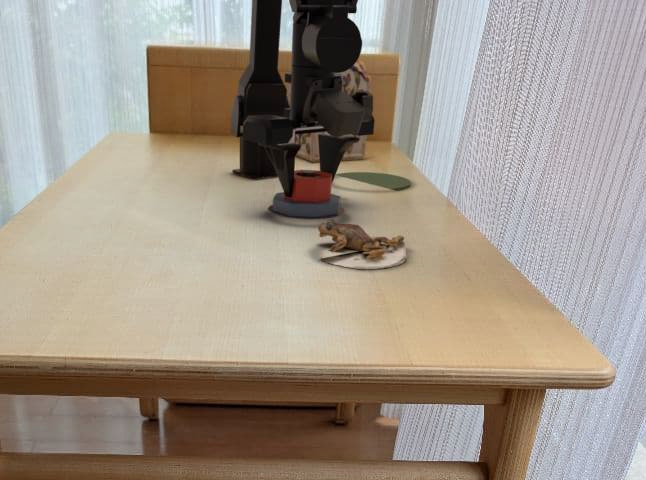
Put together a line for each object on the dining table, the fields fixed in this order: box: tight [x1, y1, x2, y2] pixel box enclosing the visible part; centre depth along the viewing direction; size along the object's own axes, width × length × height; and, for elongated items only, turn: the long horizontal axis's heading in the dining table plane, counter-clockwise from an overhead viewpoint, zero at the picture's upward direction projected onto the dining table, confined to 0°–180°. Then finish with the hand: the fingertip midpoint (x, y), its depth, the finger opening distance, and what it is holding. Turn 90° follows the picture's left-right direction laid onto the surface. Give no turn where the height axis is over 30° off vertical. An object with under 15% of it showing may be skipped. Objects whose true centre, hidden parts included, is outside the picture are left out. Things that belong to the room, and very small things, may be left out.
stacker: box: [267, 169, 346, 220], centre depth 114 cm, size 11×11×6 cm
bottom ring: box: [272, 191, 342, 218], centre depth 115 cm, size 9×9×2 cm
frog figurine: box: [317, 218, 408, 270], centre depth 99 cm, size 12×12×4 cm
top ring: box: [284, 169, 333, 203], centre depth 114 cm, size 6×6×3 cm
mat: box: [335, 171, 411, 192], centre depth 136 cm, size 14×14×1 cm
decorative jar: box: [287, 59, 372, 163], centre depth 151 cm, size 12×12×18 cm
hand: (307, 194), depth 114 cm, fingers closed on top ring, 6 cm apart
